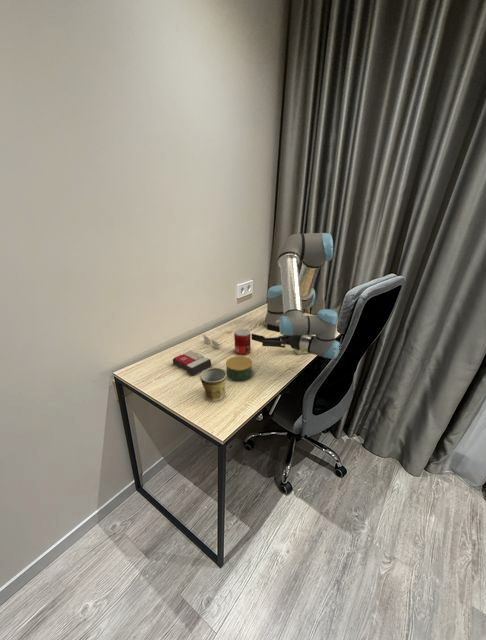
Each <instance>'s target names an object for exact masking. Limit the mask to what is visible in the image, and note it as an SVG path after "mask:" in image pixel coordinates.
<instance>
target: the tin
mask: <svg viewBox="0 0 486 640" xmlns="http://www.w3.org/2000/svg"><path fill="white" fill-rule="evenodd" d="M225 367H226V378H228V379H229V380H231V381H233V382H245V381H247V380H249V379H251V378H252V376H253V360H252V359H251V358H249V357H247V356H244V355H237V356H236V355H235V356H232V357H229V358H228V359H227V360H226V361H225Z"/></svg>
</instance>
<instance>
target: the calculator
mask: <svg viewBox="0 0 486 640" xmlns="http://www.w3.org/2000/svg"><path fill="white" fill-rule="evenodd" d="M172 364H173V366H175V367H177V368H179V369H181V370H182V371H185V372H186V373H187V374H189V375H191V376H195V375H197V374H199V373H201V372H203V371H204V370H206V369H209V367H212V361H211V359H210V358H208V357H206V356H204V355H202V354H200V353H198V352H196V351H193V350H189V351H186V352H184V353H182V354H179V355H177V356H175V357H173V358H172Z"/></svg>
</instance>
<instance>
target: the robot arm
mask: <svg viewBox="0 0 486 640" xmlns="http://www.w3.org/2000/svg"><path fill="white" fill-rule="evenodd" d="M333 255H334V240H333V236H332V234H331V233H327V232H311V233H307V232H306V233H293V234H291V235H290V236H288V237H287V238H286V239H285V240H284V241H282V243H281V245H280V247H279V249H278V252H277V266H278V267H279V268H280V281H281V284H277V285H273V286H271V287H269V288H268V290H267V295H266V299H267V302H266V303H267V305H266V306H267V307H266V308H267V309H266V314H265V318H264V321H263V326H265V328H266V330H268V331H272V332H276V333H280V335H279V336H277V337H275V336H274V337H265V336H263V335H260V334H255V333H250V337H251V341H255V342H258V343H261V346H262V347H274V348H283V349H284V348H286V345H288V346H290V348H291V349H293V350H295V349H296V350H301V351H304V352H307V353H306V354H311V355H315V356H317V357H321V358H323V359H330V360H335V359H336V358H338V356H339V353H340V350H339V348H340V349H341V343H340V341H338V340H336V332H337V326H338V313H337V311H336V310H334V309H330V308H323V309H320V310H319V311H318V312H317V315H304V314H305V312H306V309H310V308H312V307H313V305H314V303H315V299H316V291H315V289H314V288H313V287H314V285H315V282H316V280H317V276H318V274H319V270H320V268H323V266H324V265H325V264H326V262H330V261H332V259H333ZM300 262H301V267H300V271H299V264H300ZM304 308H305V309H304ZM339 346H340V347H339Z"/></svg>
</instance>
